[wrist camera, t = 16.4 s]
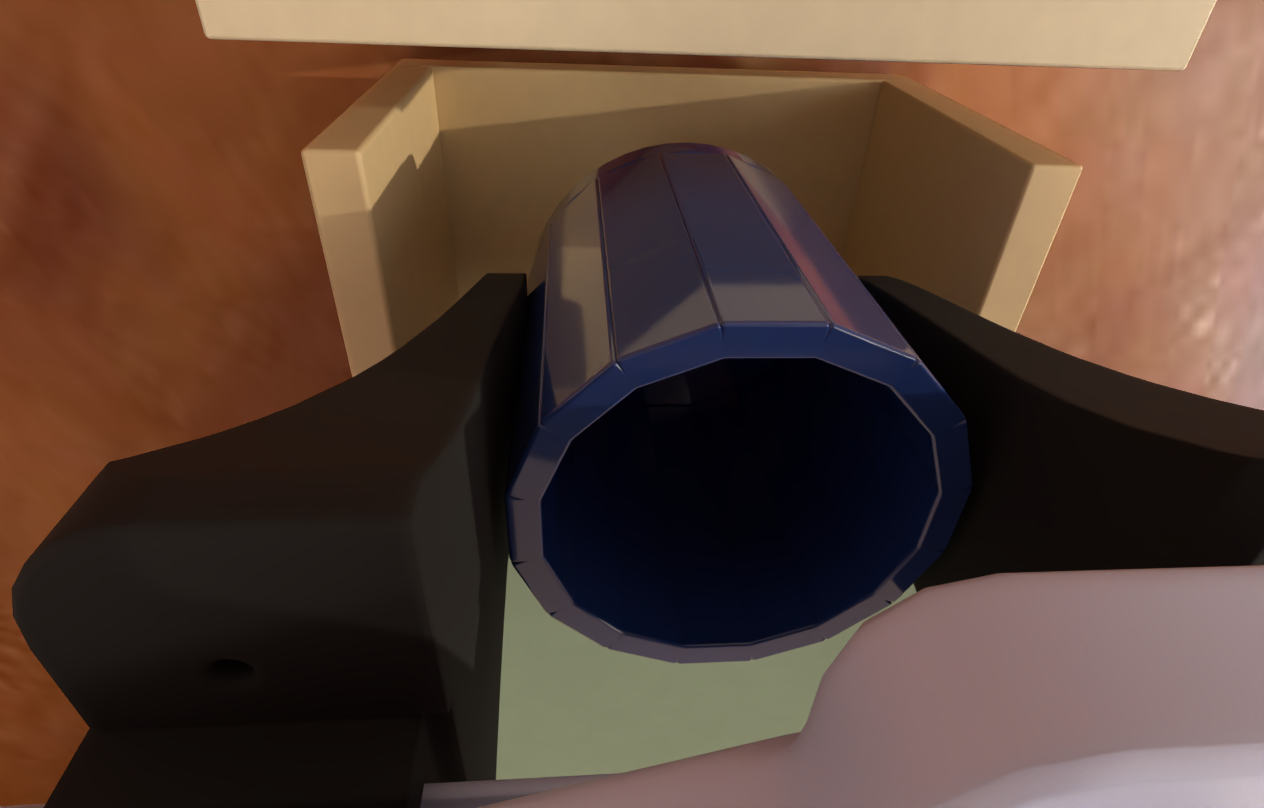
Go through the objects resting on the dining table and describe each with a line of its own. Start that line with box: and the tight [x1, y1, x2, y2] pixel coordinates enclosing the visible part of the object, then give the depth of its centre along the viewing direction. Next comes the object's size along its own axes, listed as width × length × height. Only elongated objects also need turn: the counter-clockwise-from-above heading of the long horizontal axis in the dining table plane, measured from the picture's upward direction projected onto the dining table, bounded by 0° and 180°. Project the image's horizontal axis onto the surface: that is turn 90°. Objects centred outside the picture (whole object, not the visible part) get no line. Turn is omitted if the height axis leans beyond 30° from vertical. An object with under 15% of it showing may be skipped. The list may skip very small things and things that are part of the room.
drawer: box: [195, 0, 1217, 377], centre depth 13 cm, size 18×12×7 cm
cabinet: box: [496, 557, 917, 780], centre depth 20 cm, size 15×14×9 cm
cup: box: [504, 142, 973, 664], centre depth 10 cm, size 5×5×6 cm
